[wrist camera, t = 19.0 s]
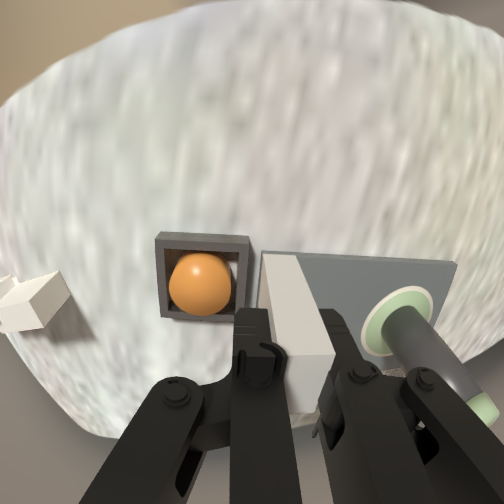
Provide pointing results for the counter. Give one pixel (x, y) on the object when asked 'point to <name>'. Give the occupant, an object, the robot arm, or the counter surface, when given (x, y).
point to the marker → (433, 358)
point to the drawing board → (374, 293)
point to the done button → (201, 282)
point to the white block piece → (30, 301)
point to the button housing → (203, 243)
